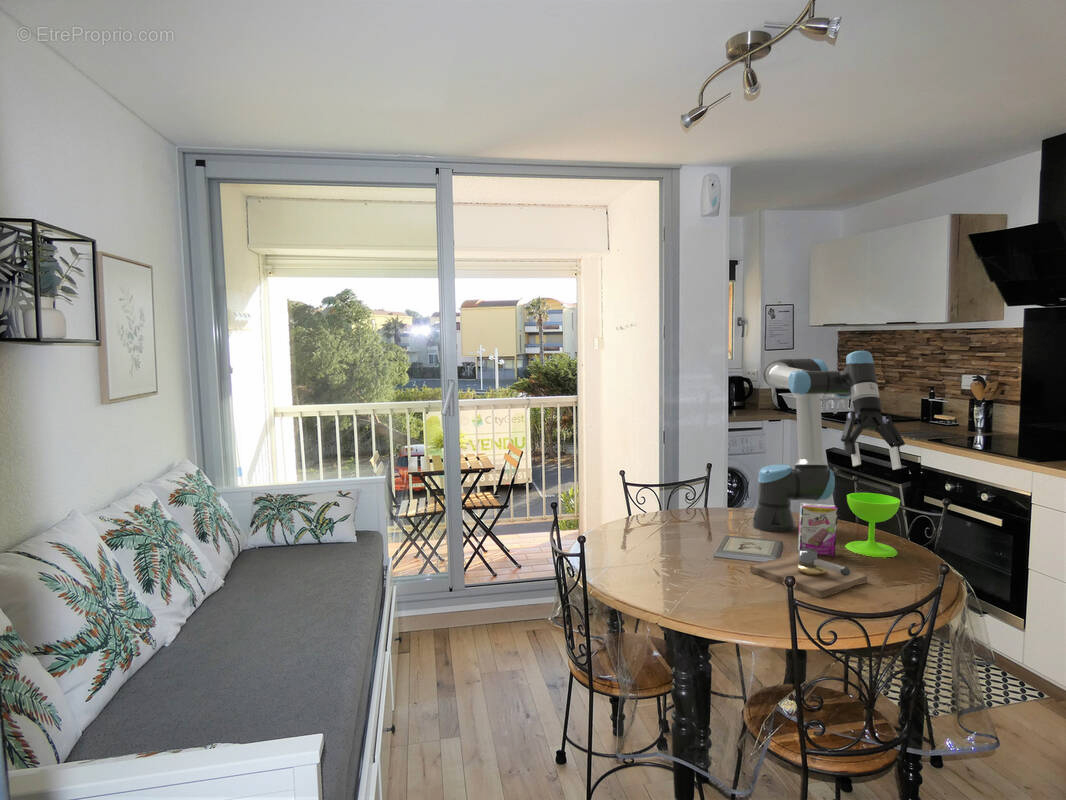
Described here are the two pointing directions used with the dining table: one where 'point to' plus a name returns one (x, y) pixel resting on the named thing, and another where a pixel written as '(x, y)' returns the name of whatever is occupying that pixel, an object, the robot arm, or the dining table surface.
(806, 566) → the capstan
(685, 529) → the dining table surface
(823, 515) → the candy bar box
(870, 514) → the wineglass
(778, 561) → the board
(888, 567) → the dining table surface
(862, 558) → the dining table surface
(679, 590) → the dining table surface
